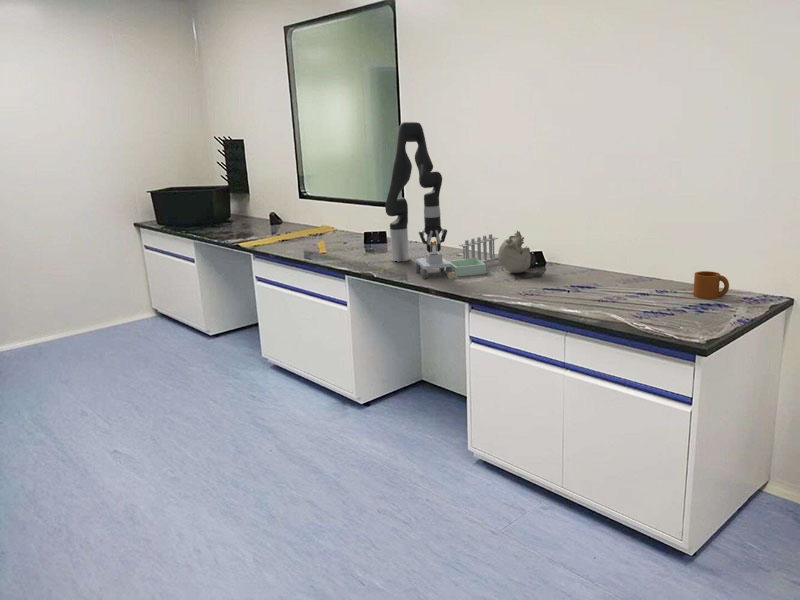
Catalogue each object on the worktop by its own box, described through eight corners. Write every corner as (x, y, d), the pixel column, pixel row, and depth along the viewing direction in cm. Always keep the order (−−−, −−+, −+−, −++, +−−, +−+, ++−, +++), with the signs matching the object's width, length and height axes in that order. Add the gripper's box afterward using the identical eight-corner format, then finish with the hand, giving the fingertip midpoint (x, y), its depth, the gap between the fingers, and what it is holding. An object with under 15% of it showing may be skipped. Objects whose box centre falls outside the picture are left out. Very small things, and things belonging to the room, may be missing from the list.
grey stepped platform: (415, 271, 308) (414, 250, 305) (443, 268, 310) (442, 247, 307) (425, 281, 288) (424, 259, 286) (455, 277, 291) (454, 255, 288)
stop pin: (430, 262, 297) (429, 241, 294) (436, 261, 297) (435, 240, 295) (432, 263, 294) (431, 242, 291) (437, 262, 295) (437, 241, 292)
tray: (447, 269, 307) (446, 261, 306) (475, 266, 310) (475, 257, 309) (455, 276, 293) (455, 267, 292) (486, 273, 296) (486, 264, 295)
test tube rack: (465, 268, 309) (464, 241, 306) (459, 266, 313) (458, 240, 309) (498, 258, 325) (498, 233, 321) (492, 257, 328) (491, 232, 324)
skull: (530, 276, 286) (530, 233, 281) (497, 276, 290) (497, 233, 284) (530, 269, 298) (530, 228, 293) (499, 269, 301) (498, 228, 296)
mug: (723, 301, 234) (725, 278, 231) (690, 297, 241) (691, 275, 239) (730, 295, 240) (732, 273, 237) (697, 291, 248) (698, 269, 245)
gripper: (444, 213, 294) (446, 248, 299) (415, 215, 292) (417, 251, 297) (449, 215, 287) (450, 251, 292) (419, 218, 285) (421, 254, 290)
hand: (433, 251), depth 294 cm, fingers open, 3 cm apart
